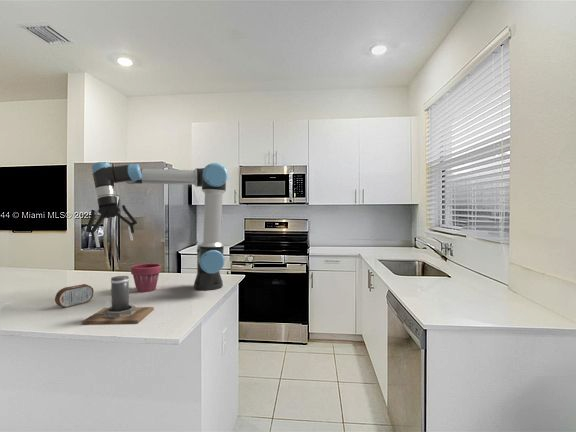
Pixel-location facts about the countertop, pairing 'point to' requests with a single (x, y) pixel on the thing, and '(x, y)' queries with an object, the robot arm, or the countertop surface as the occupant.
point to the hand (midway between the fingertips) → (115, 243)
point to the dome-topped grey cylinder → (120, 293)
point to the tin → (74, 295)
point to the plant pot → (145, 276)
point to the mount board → (118, 320)
